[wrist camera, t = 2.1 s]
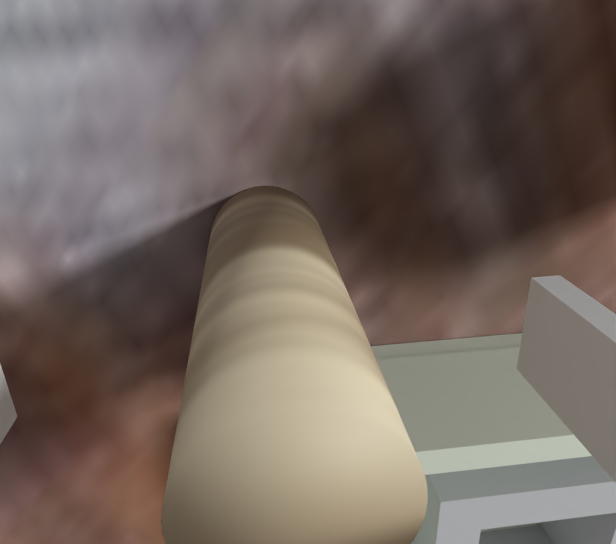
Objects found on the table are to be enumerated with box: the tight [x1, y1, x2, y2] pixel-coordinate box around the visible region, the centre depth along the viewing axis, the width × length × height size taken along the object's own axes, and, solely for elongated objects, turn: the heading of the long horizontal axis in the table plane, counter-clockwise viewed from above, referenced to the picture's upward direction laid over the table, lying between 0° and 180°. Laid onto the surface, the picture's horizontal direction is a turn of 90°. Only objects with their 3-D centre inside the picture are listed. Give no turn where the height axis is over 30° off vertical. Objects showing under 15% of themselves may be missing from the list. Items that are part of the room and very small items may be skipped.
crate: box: [371, 333, 616, 544], centre depth 22 cm, size 16×16×6 cm
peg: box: [161, 186, 428, 544], centre depth 13 cm, size 4×4×12 cm
